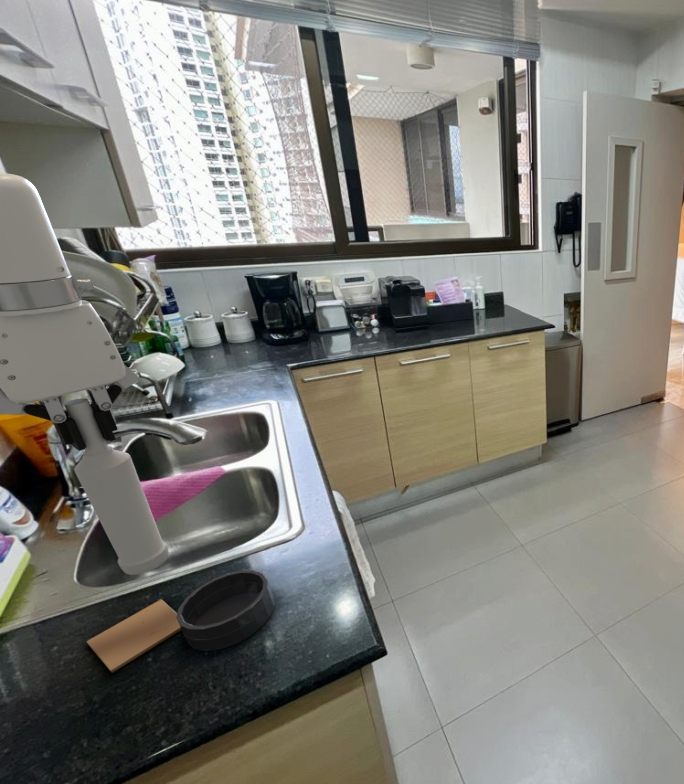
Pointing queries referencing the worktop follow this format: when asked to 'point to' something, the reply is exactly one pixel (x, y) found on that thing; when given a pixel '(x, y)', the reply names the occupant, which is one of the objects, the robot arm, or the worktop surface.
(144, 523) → the bottle
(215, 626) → the dark grey round tray
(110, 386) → the robot arm
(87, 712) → the worktop surface
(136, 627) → the cork mat
